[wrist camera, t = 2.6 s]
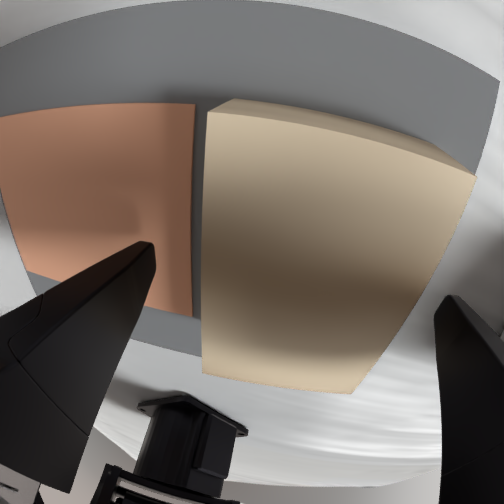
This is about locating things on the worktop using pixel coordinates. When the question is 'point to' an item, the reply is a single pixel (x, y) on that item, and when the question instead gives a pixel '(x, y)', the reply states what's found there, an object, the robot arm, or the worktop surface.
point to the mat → (192, 126)
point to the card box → (316, 241)
